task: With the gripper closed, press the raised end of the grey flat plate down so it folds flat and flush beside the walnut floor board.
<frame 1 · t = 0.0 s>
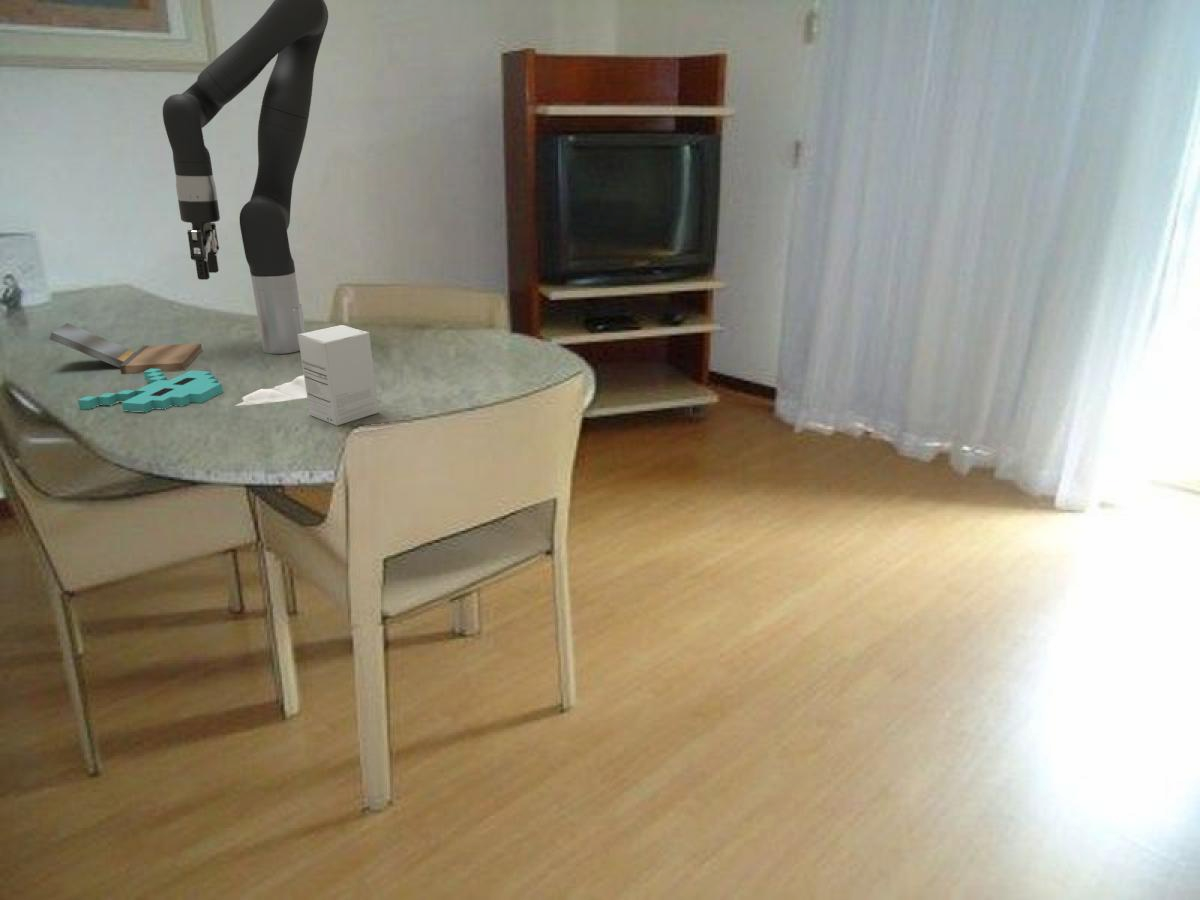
hand: (208, 275, 179), 17 cm above the table, tool pointing down, fingers open, 8 cm apart
laid floor board: (163, 362, 178), on the table
grey flat plate: (94, 345, 174), point 4 cm above the table, hinge at 30.0°
alien figure: (165, 398, 158), on the table
cloth: (295, 393, 161), on the table
supplement box: (344, 415, 147), on the table
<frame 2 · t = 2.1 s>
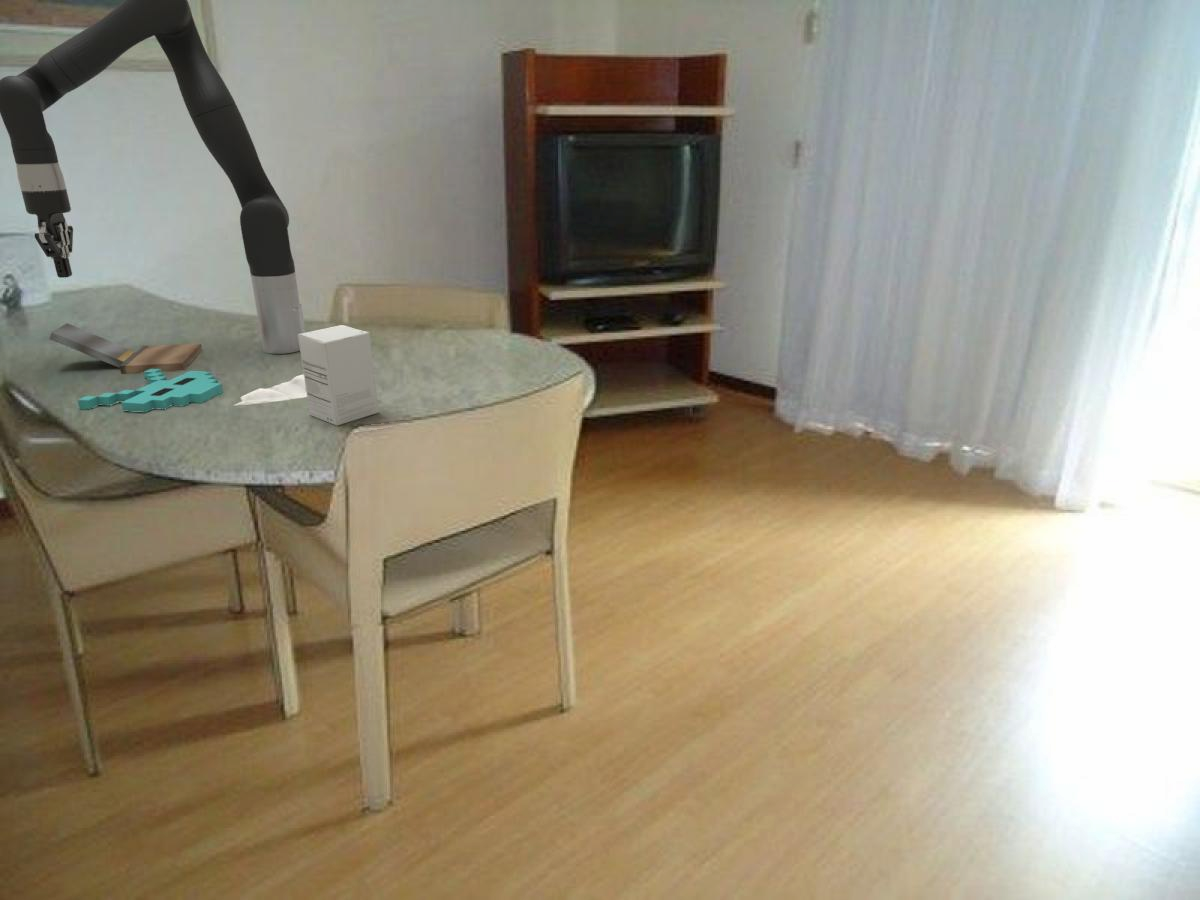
hand: (65, 276, 168), 19 cm above the table, tool pointing down, fingers closed
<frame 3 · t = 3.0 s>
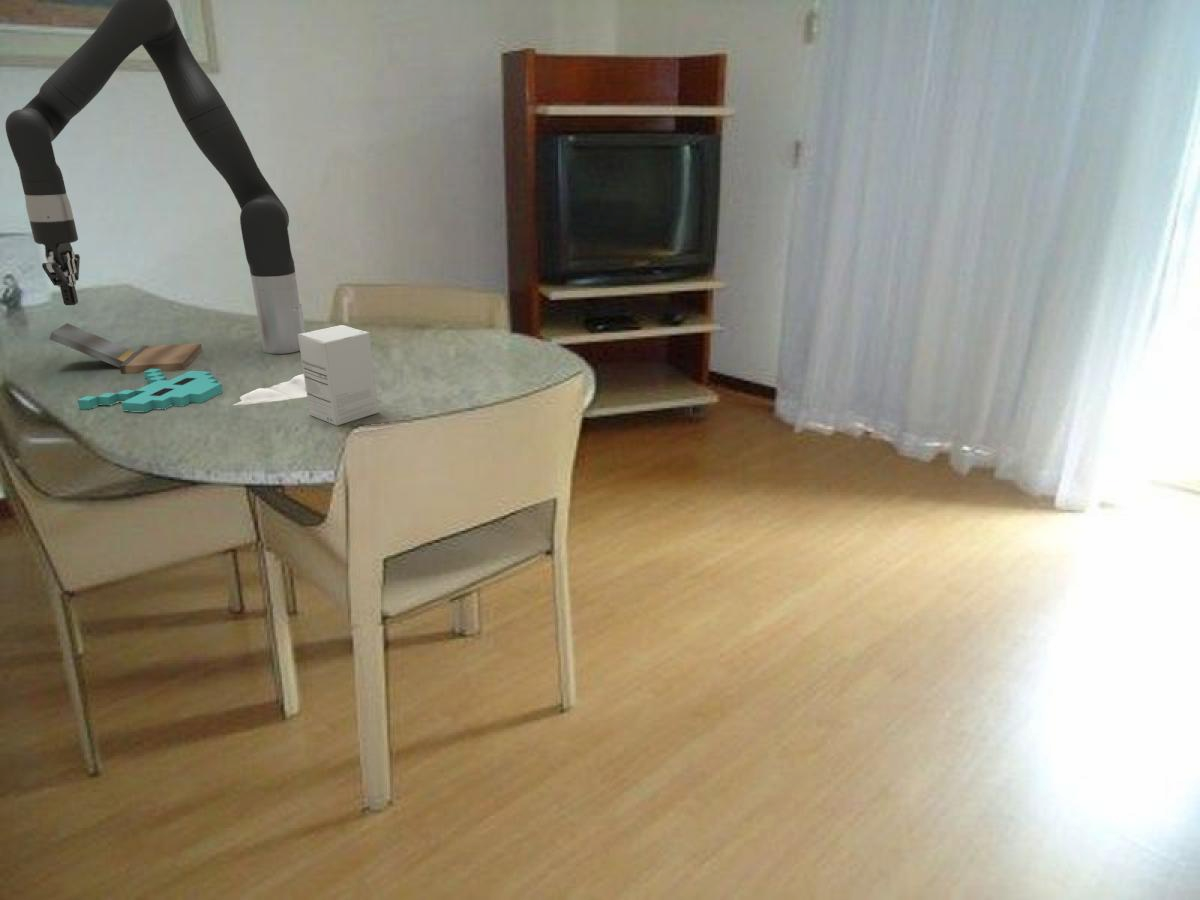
hand: (71, 304, 170), 13 cm above the table, tool pointing down, fingers closed
nothing on the table moved.
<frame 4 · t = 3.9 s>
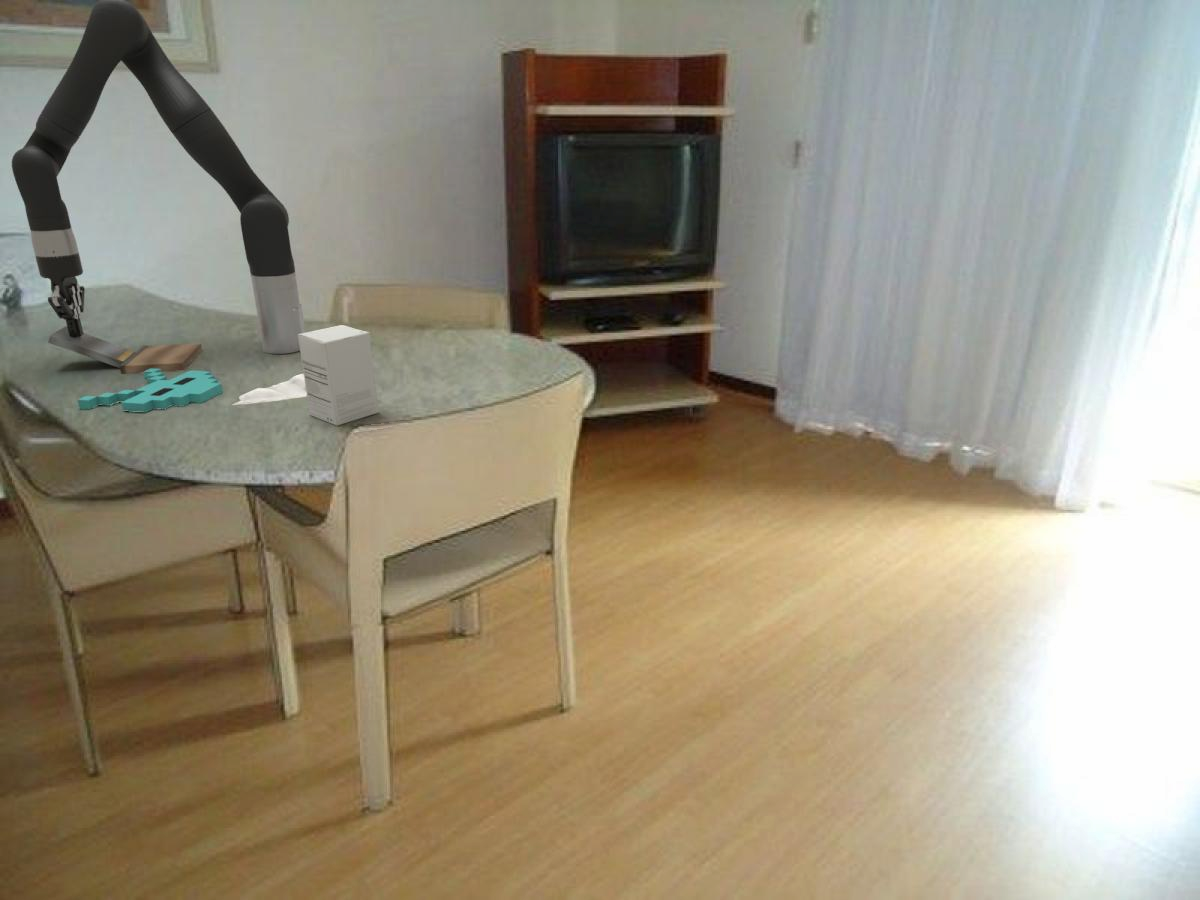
hand: (76, 336, 173), 7 cm above the table, tool pointing down, fingers closed
grey flat plate: (93, 347, 174), point 4 cm above the table, hinge at 26.7°, touching gripper
everything else where it was.
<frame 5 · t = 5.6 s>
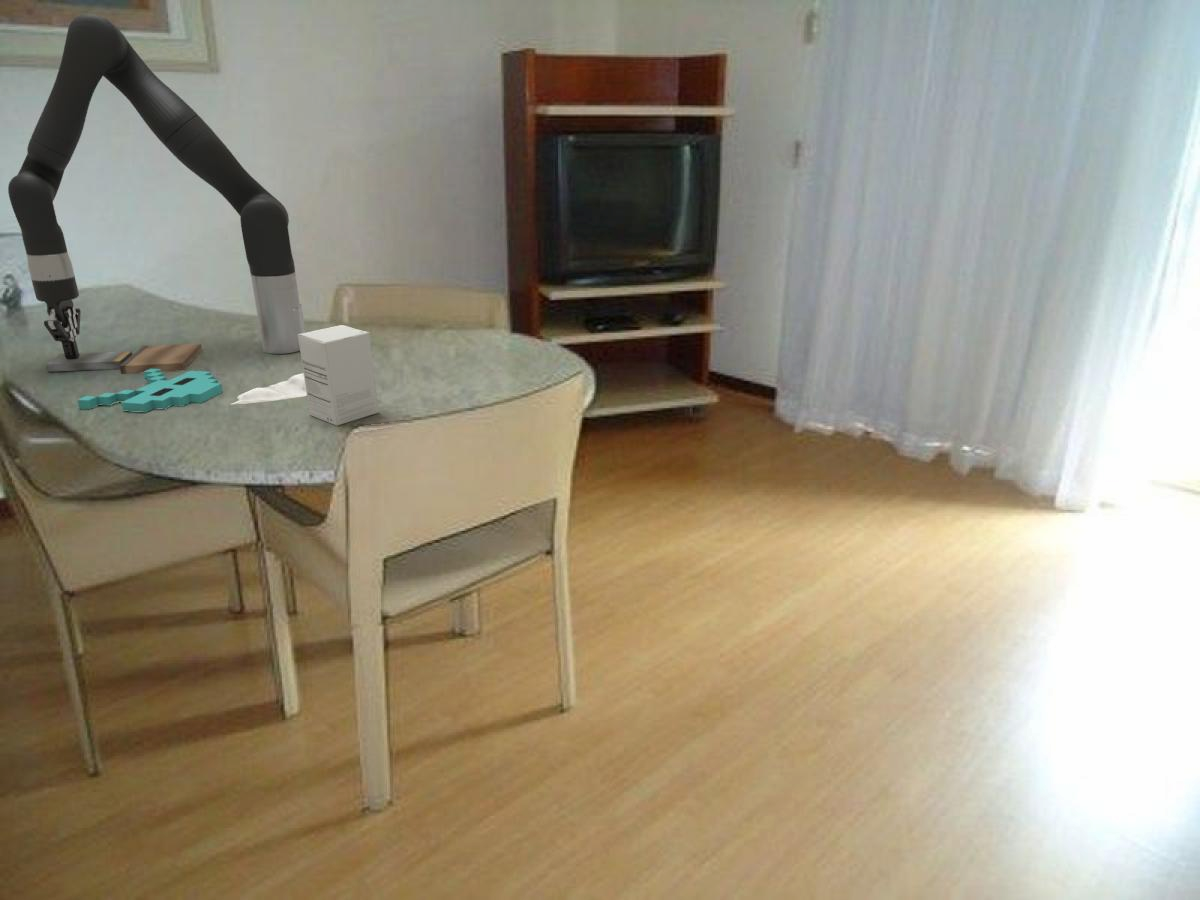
hand: (72, 358, 174), 2 cm above the table, tool pointing down, fingers closed
grey flat plate: (90, 361, 175), point 1 cm above the table, hinge at 0.7°
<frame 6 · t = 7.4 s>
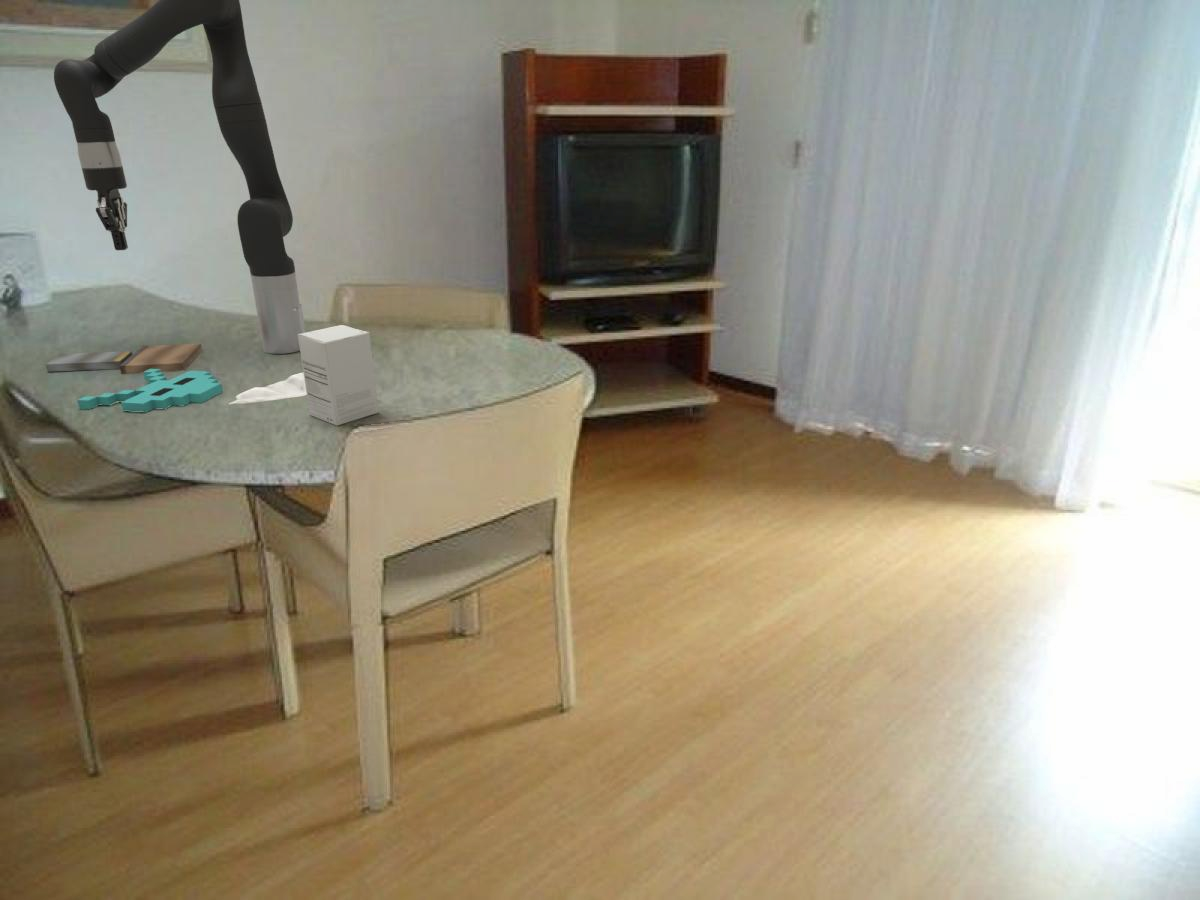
hand: (121, 249, 179), 22 cm above the table, tool pointing down, fingers closed
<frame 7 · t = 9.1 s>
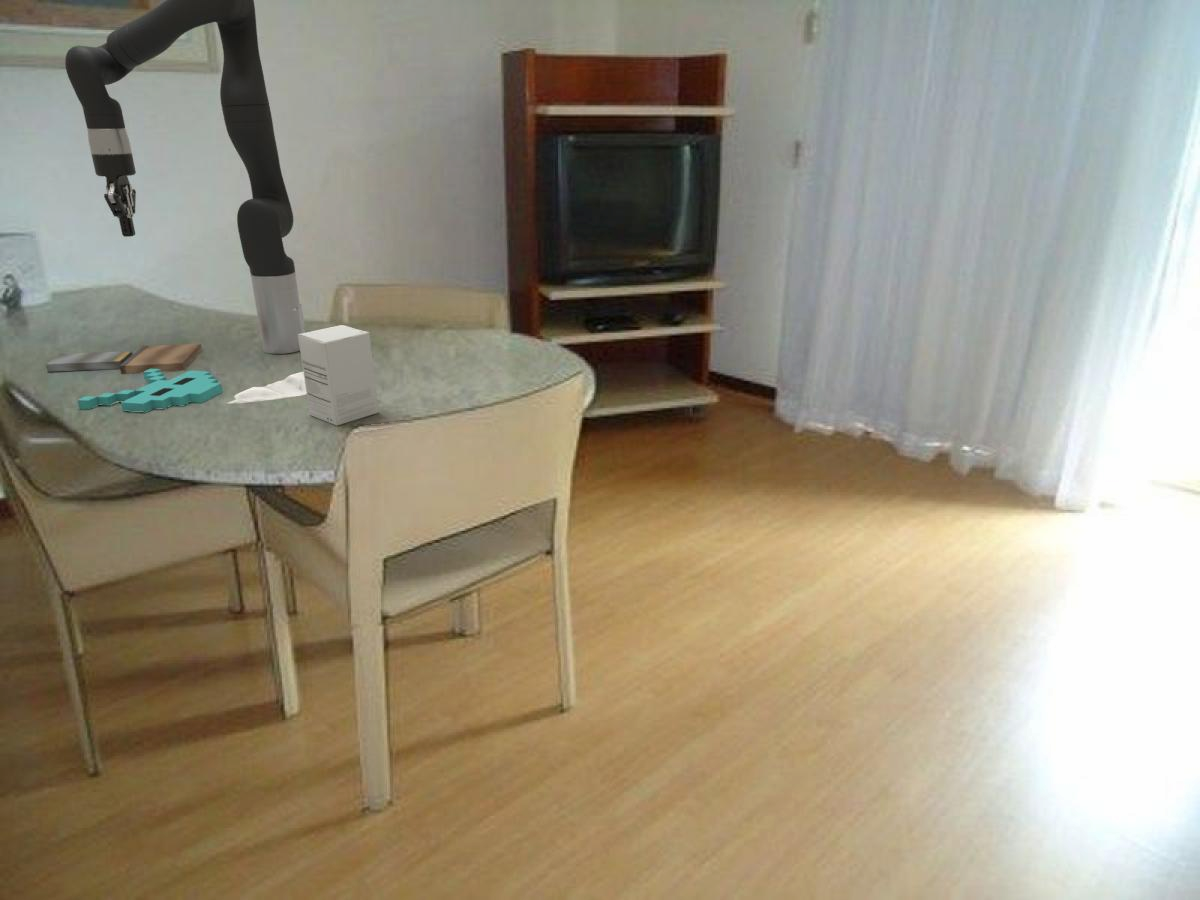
hand: (129, 235, 180), 25 cm above the table, tool pointing down, fingers closed
at the end: grey flat plate at +1° (first picture: +30°) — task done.
